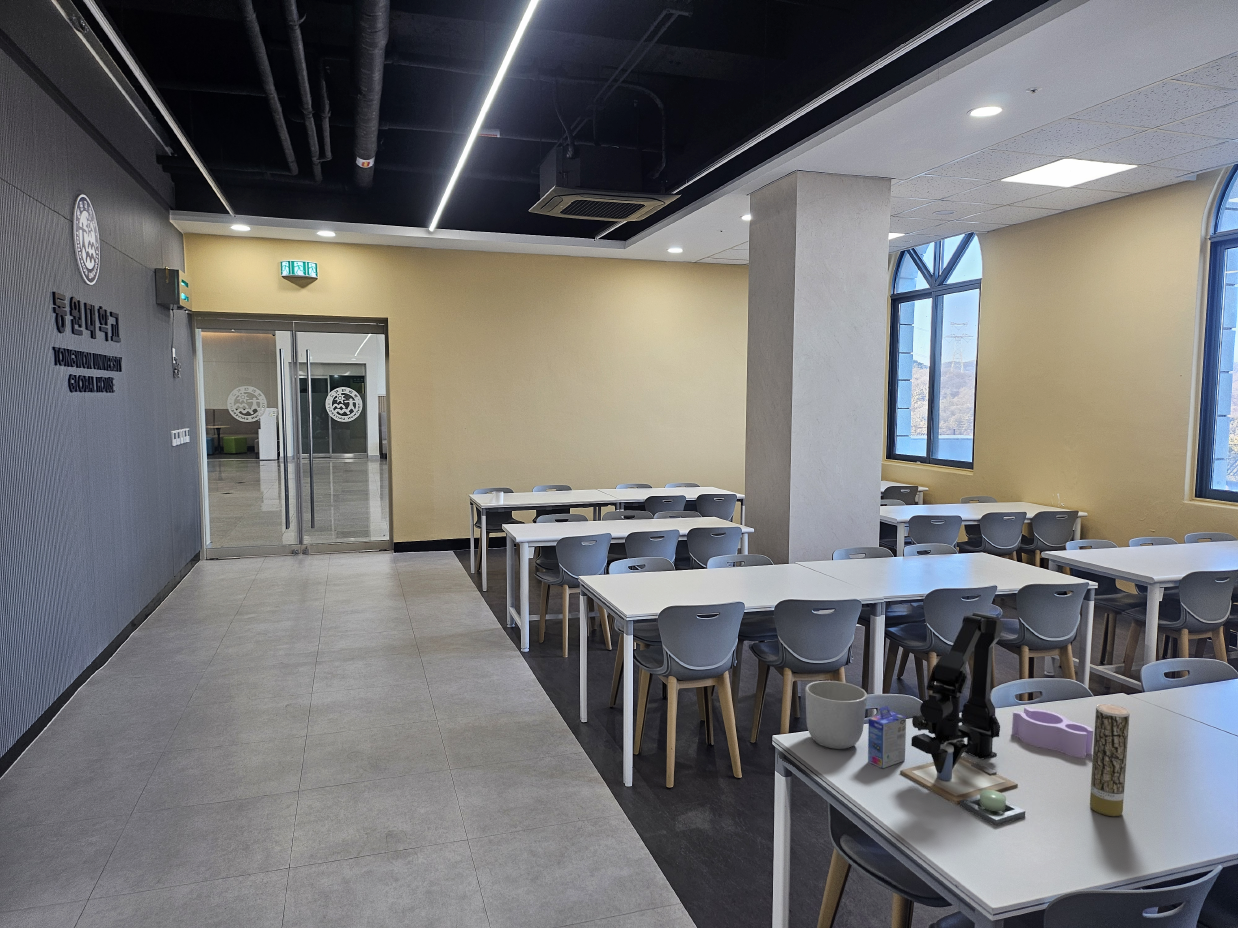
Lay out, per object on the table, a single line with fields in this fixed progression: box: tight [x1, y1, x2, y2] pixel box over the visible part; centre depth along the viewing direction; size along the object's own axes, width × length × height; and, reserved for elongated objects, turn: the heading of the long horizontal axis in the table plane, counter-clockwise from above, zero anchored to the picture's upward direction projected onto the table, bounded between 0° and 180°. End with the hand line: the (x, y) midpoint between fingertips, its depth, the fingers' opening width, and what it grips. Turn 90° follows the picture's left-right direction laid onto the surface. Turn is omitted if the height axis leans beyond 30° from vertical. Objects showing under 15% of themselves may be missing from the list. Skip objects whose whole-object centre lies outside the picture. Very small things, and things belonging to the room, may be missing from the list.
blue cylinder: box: [937, 743, 954, 781], centre depth 204 cm, size 4×4×9 cm
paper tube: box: [1089, 703, 1130, 817], centre depth 190 cm, size 7×7×25 cm
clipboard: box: [899, 756, 1019, 805], centre depth 205 cm, size 22×18×1 cm
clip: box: [1011, 706, 1094, 759], centre depth 230 cm, size 20×12×7 cm, turn 36°
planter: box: [805, 680, 868, 750], centre depth 226 cm, size 17×17×15 cm
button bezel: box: [959, 795, 1026, 827], centre depth 189 cm, size 10×10×2 cm
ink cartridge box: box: [867, 705, 907, 769], centre depth 215 cm, size 10×6×14 cm, turn 124°
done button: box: [979, 790, 1007, 813], centre depth 189 cm, size 6×6×2 cm
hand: (944, 771), depth 204 cm, fingers closed on blue cylinder, 4 cm apart
